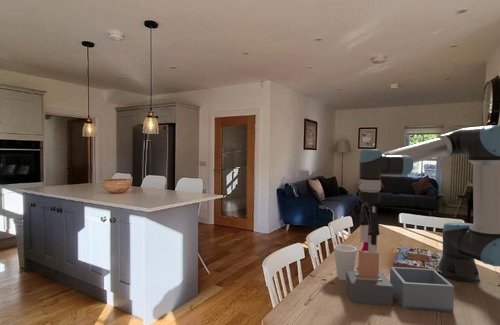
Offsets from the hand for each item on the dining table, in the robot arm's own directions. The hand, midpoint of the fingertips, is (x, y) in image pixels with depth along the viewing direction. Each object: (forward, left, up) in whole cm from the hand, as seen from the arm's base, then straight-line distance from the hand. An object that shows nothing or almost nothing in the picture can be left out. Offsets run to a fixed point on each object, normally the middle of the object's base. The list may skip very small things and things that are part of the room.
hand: (367, 247), depth 113 cm
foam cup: (+6, -16, -19) cm, 25 cm away
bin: (-18, 0, -19) cm, 26 cm away
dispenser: (0, 0, -19) cm, 19 cm away
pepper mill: (-7, -32, -19) cm, 38 cm away
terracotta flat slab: (0, 0, -17) cm, 17 cm away
